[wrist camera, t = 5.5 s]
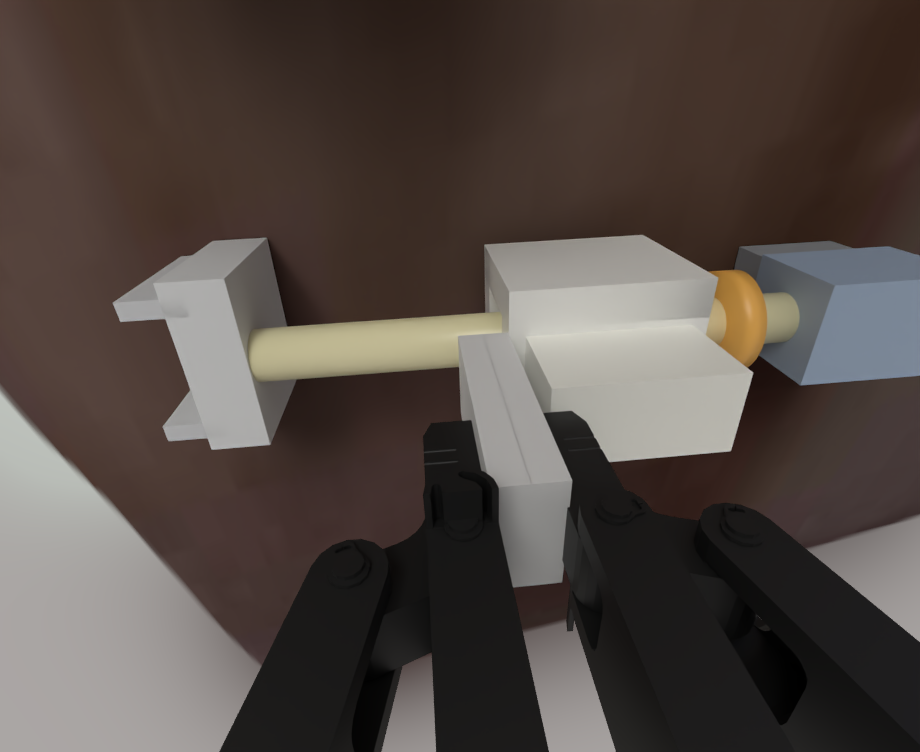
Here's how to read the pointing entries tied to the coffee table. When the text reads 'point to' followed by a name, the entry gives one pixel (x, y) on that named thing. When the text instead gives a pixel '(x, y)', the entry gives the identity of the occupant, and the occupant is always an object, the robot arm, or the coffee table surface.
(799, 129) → the coffee table surface
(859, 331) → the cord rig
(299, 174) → the coffee table surface
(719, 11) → the coffee table surface
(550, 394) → the white stepped block
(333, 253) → the coffee table surface
